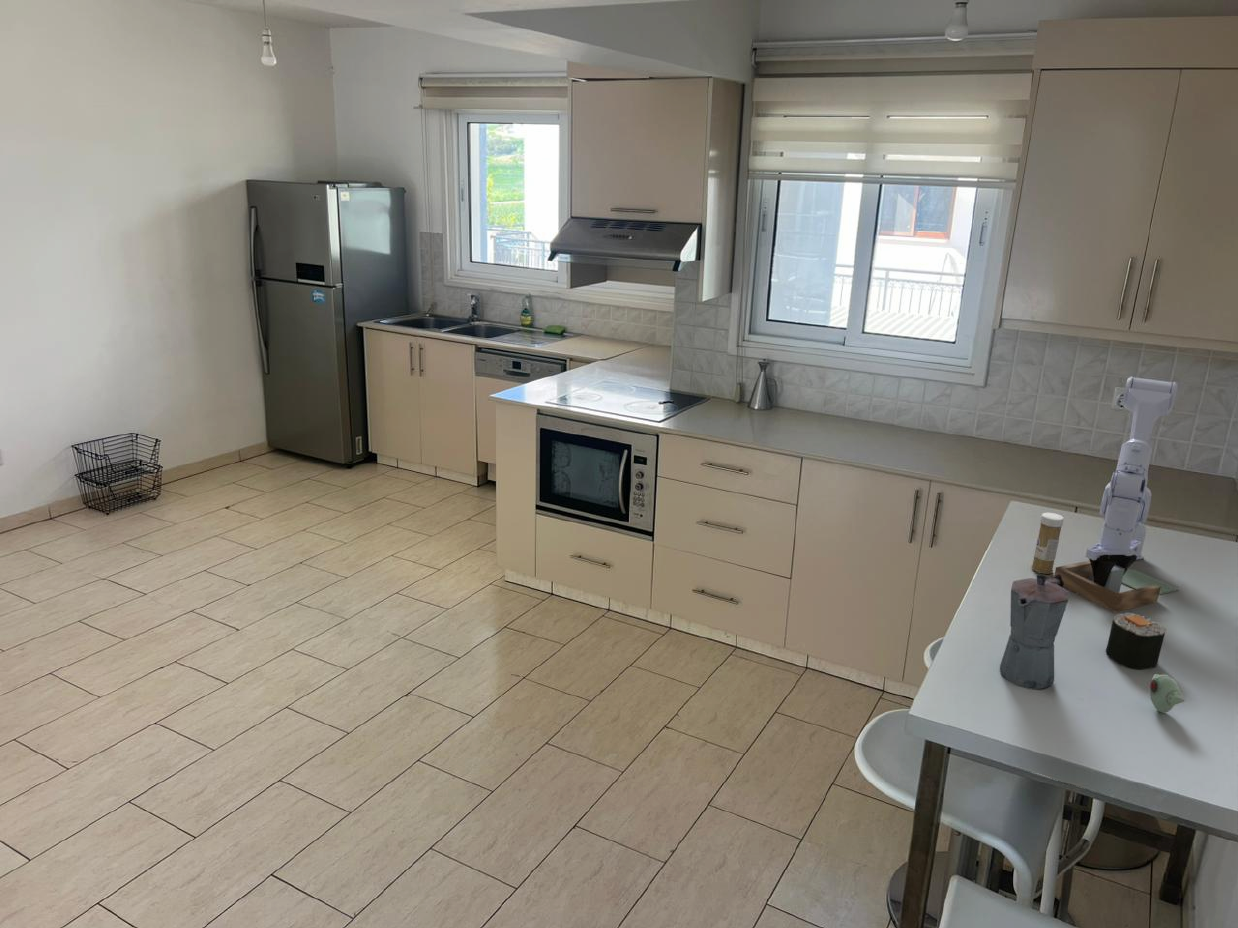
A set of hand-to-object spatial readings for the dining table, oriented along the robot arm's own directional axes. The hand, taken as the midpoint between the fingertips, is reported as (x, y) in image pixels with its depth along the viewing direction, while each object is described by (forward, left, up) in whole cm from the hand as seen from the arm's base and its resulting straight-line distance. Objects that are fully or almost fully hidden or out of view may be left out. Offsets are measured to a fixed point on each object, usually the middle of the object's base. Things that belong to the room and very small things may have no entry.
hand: (1105, 584), depth 196 cm
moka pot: (+45, +19, -2) cm, 49 cm away
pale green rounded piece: (+33, +36, -2) cm, 49 cm away
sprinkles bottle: (+4, -13, -2) cm, 14 cm away
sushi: (+21, +22, -2) cm, 30 cm away
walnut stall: (0, 0, -2) cm, 2 cm away
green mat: (-12, 0, -2) cm, 12 cm away
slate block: (0, 0, -2) cm, 2 cm away
